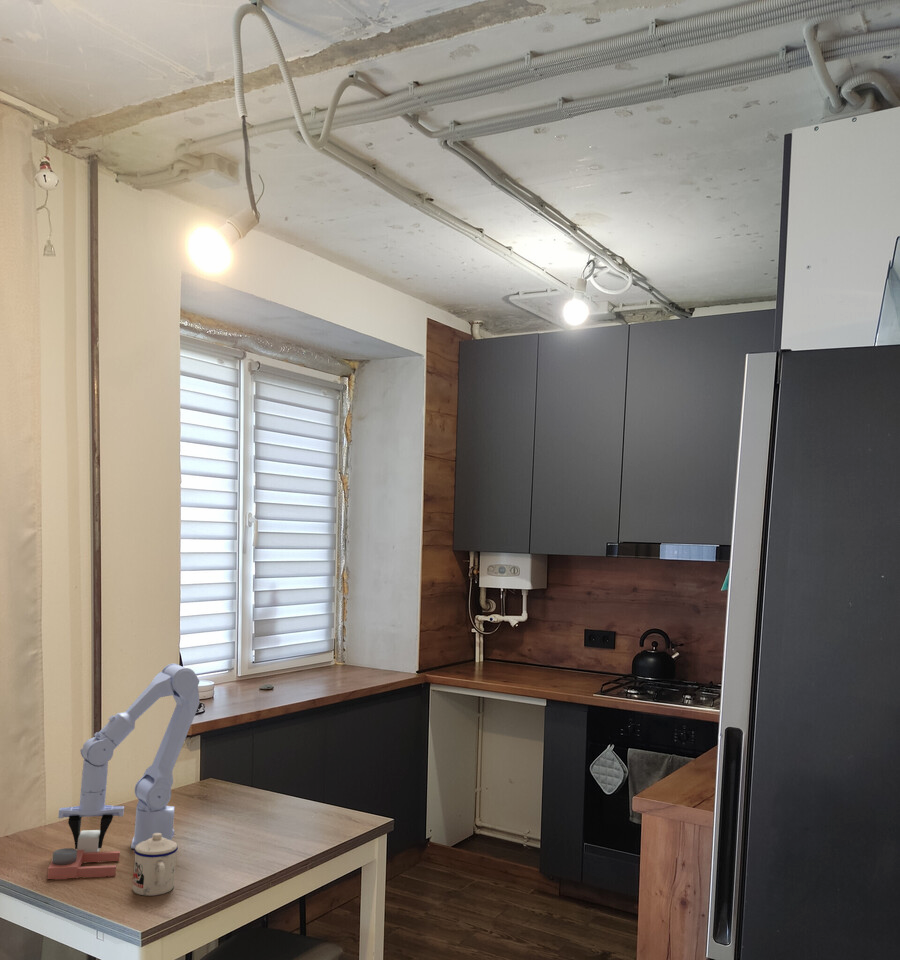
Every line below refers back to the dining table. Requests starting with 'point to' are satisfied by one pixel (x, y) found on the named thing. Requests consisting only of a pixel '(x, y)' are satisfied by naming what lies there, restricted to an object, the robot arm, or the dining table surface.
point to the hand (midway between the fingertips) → (88, 847)
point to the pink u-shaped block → (70, 864)
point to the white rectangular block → (89, 840)
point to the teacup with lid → (154, 866)
